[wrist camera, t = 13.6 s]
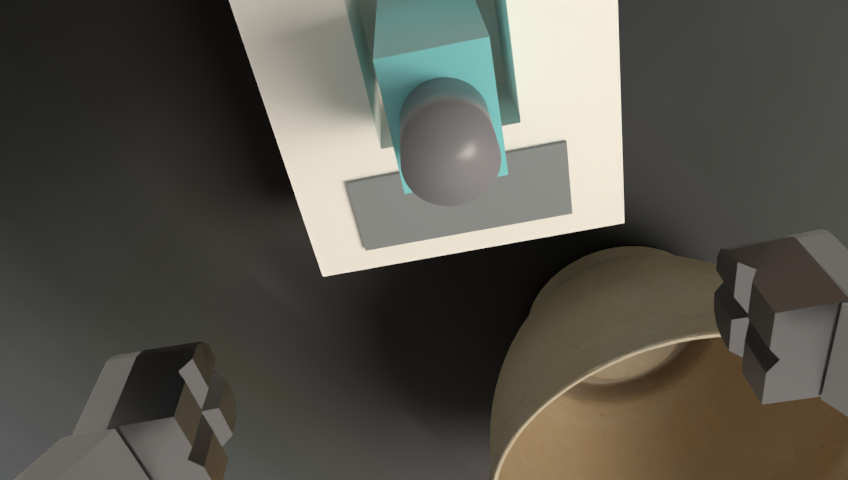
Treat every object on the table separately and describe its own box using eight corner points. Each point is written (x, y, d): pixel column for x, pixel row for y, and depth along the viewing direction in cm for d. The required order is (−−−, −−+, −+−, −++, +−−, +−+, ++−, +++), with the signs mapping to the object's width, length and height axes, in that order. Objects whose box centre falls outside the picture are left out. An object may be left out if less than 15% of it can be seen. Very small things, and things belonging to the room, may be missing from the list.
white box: (213, -194, 23) (162, -189, 18) (560, -274, 23) (610, -293, 17) (333, 201, 32) (322, 280, 27) (587, 154, 31) (626, 225, 26)
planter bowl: (765, 386, 40) (873, 559, 31) (497, 439, 42) (526, 619, 33) (773, 147, 32) (927, 291, 22) (435, 227, 33) (451, 391, 24)
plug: (378, -22, 25) (369, 96, 15) (460, -39, 25) (502, 70, 15) (401, 82, 27) (405, 242, 17) (475, 67, 27) (522, 221, 17)
